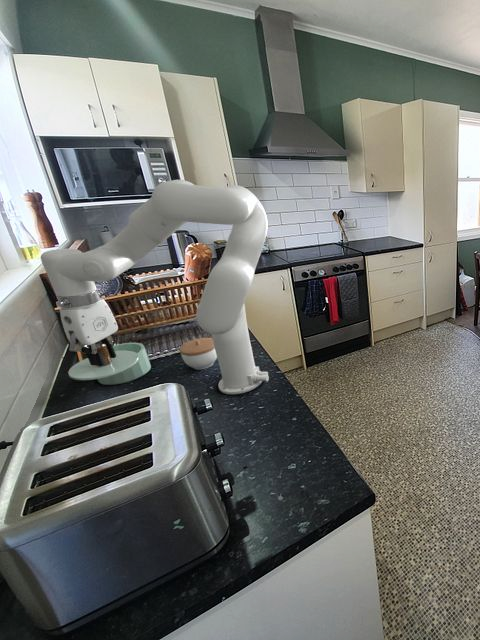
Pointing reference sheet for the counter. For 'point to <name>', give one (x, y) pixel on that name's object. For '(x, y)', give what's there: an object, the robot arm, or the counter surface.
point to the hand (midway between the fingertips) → (103, 360)
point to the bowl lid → (110, 367)
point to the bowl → (132, 372)
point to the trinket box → (198, 353)
